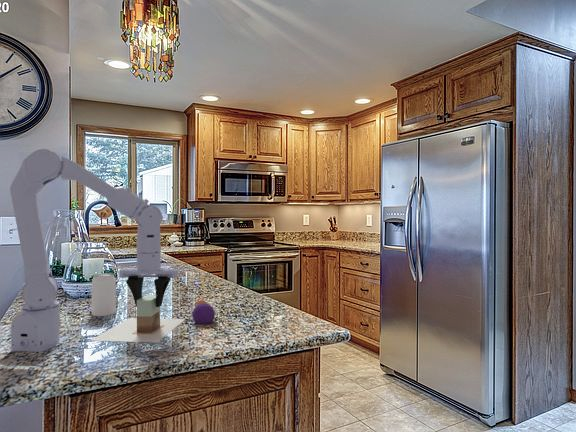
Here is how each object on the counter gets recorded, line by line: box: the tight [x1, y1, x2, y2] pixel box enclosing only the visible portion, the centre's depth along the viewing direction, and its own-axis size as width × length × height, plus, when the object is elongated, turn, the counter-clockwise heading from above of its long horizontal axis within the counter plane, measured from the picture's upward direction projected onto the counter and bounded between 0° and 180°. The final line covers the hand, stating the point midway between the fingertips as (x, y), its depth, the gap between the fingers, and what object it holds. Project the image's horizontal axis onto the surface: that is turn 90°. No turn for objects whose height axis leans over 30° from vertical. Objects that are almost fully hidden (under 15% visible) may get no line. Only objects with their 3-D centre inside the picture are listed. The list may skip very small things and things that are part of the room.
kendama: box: [192, 299, 216, 326], centre depth 117 cm, size 6×6×20 cm
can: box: [91, 272, 117, 317], centre depth 119 cm, size 6×6×12 cm
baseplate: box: [89, 317, 186, 343], centre depth 103 cm, size 20×16×1 cm
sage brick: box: [136, 294, 161, 317], centre depth 103 cm, size 6×4×4 cm, turn 177°
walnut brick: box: [136, 310, 161, 333], centre depth 103 cm, size 6×4×4 cm, turn 177°
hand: (148, 306), depth 103 cm, fingers open, 5 cm apart
